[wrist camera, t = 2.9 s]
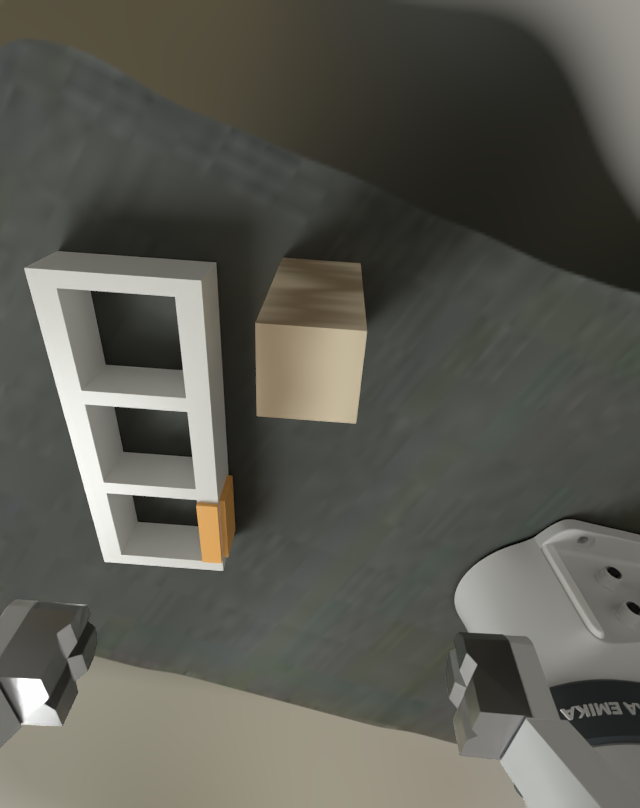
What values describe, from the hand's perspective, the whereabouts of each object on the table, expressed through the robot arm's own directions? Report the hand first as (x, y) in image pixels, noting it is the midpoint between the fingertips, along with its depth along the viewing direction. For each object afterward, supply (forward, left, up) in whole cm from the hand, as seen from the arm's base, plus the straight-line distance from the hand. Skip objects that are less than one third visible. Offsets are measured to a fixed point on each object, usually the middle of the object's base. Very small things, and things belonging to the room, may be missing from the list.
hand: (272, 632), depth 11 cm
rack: (+11, +10, -22) cm, 26 cm away
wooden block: (0, 0, -22) cm, 22 cm away
